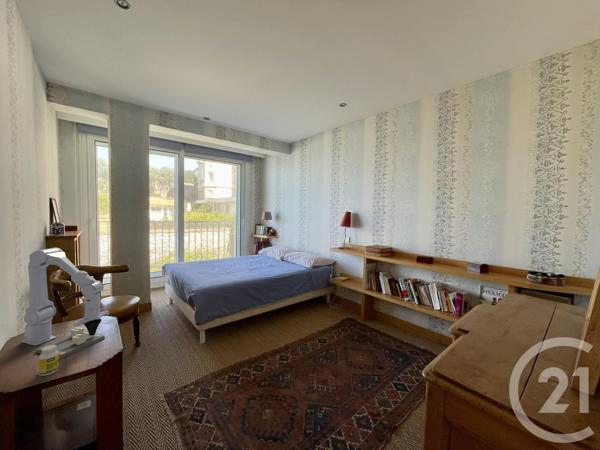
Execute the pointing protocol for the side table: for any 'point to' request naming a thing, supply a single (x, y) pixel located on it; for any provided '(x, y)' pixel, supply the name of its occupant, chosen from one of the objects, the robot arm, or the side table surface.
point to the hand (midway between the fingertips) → (92, 334)
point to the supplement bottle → (48, 360)
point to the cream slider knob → (77, 331)
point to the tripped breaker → (78, 339)
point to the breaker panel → (68, 348)
